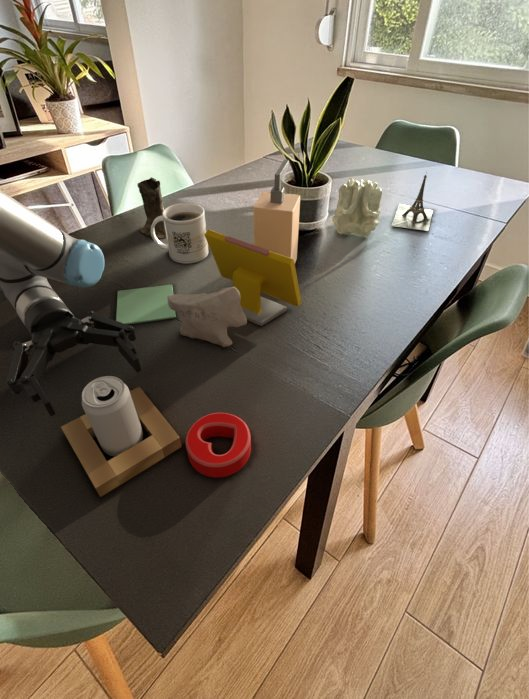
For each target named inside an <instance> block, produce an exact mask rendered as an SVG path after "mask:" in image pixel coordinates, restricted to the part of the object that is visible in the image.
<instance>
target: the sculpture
mask: <svg viewBox="0 0 529 699" xmlns="http://www.w3.org/2000/svg"><path fill="white" fill-rule="evenodd" d="M167 298H168V305H169V307H170V309H172V310H175V313H177V315H178V317H179V319H180V328H179V333H180V335H181V336H184V337H188V338H190V339H197V340H201V341H207V342H209V343H211V344H215V345H218V346H221V347H222V348H227V347H230V346H231V345H233V341H232V339H231V338H230V337H229V335H228V328H229V327H232V328H239V327H241V326H246V325H247V323H248V320H247V319H246V316H245V314H244V312H243V310H242V308H241V305H240V298H241V297H240V292H239V290H237V289H236V288H235V287H233V286H231V287H230V286H229V287H223V288H220V290H218V291H212V292H211V293H204V292H201V293H195V294H185V293H184V294H183V293H173V295H169V296H167Z"/></svg>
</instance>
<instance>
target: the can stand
mask: <svg viewBox="0 0 529 699" xmlns="http://www.w3.org/2000/svg"><path fill="white" fill-rule="evenodd" d="M129 392H130V395H131V398H132V401H133V404H134V407H135V410H136V413H137V416H138V419H139V422H140V425H141V428H142V429H143V430H144V431H145V432H146V434H147V435H148V437H146V438H145V439H143V440H142V441H141V442H140V443H138V444H136V445H135V446H133V447H131V448H129V449H128V450H126V451H124V452H122V453H121V454H119V455H117V456H116V457H115V456H113V457H112V458H110V459H108V460H107V458H106V457H105V456H104V454H103V452H102V451H101V449H100V447H99V446H98V444H97V442H96V441H95V439H94V438H97V437H96V435H95V433H94V430H93V428H92V426H91V424H90V422H89V420H88V417H87V415H86V413H85V414H83V415H81V416H79V417H77V418H75V419H73V420H72V421H69V422H68V423H66V424H64V425H62V426H60V429H61V430H62V432H63V434H64V436H65V437H66V439H67V441H68V443H69V444H70V446H71V448H72V450H73V452H74V453H75V455H76V457H77V459H78V461H79V462H80V464H81V466H82V468H83V470H84V471H85V473H86V475H87V477H88V478H89V480H90V482H91V483H92V486H93V488H94V489H95V491H96V492H97V494H98V496H99V497H100V498H102V497H103V496H105V495H107V494H108V493H110V492H111V491H113V490H114V489H116V488H118V487H120V486H121V485H122V484H125V483H126V482H127V481H129V480H131V479H132V478H134V477H136V476H137V475H139V474H141V473H142V472H144V471H146V470H147V469H149V468H150V467H152V466H153V465H155V464H157V463H158V462H160V461H162V460H164V459H165V458H167V457H168V456H170V455H171V454H172V453H174V452H176V451H177V450H179V449H181V448H182V447H183V445H182V442H181V441H182V440H181V437H180V436H179V434H178V433H177V432H176V430H175V429H174V428H173V427H172V426H171V424H170V423H169V422H168V421H167V419H166V418H165V417H164V415H163V414H162V413H161V412H160V410H158V408H157V406H155V404H154V403H153V402H152V401H151V399H150V398H149V397H148V396H147V394H146V393H145V392H144V391H143V389H142V388H141V387H140V386H137V387H135V388H134V389H132V390H129Z"/></svg>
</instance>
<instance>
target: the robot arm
mask: <svg viewBox="0 0 529 699" xmlns="http://www.w3.org/2000/svg"><path fill="white" fill-rule="evenodd" d="M105 266H106V264H105V256H104V253H103V251H102V249H101V248H100V247H99V246H98V245H97V244H95V243H93V242H91V241H87V240H86V239H82V238H81V239H78V238H75V237H73V236H71V235H70V234H68V233H66V232H65V231H64V230H62V229H60V228H59V227H57V226H55V225H54V224H53V223H51V222H49V221H48V220H46V218H43V217H42V216H40V215H39V214H37V213H36V212H34V211H32V210H31V209H29V207H27V206H25V205H24V204H23V203H21V202H20V201H18V200H16V199H15V198H13V197H12V196H10V195H9V194H7V193H5V192H4V191H3V190H2V189H0V288H1V291H2V293H3V294H4V295H3V296H4V297H5V298H6V300H7V301H8V302H9V303H10V305H11V306H12V307H13V309H14V310H15V312H16V314H17V316H18V317H19V319H20V320H21V322H22V323H23V325H24V326H25V328H26V330H27V332H28V334H29V335H30V337H31V340H29V341H26V342H22V341H21V340H15V341H14V342H13V343H12V346H13V349H14V352H13V355H12V359H11V361H10V364H9V369H8V372H7V375H6V378H5V384H6V386H7V388H8V389H9V391H10V392H11V394H12V395H14V396H16V395H19V394H20V393H21V392H26V393H27V395H28V398H29V399H30V401H31V403H34V404H35V403H37V402H39V401H41V402H42V404H43V406H44V408H45V409H46V411H47V413H48V414H49V416H50V417H53V416H55V415H57V413H56V411H55V409H54V407H53V406H52V403H51V402H50V400H49V398H48V397H47V395H46V393H45V392H44V390H43V388H42V387H41V385H40V383H39V381H40V379H41V377H42V375H43V373H45V372H44V371H45V370H46V368H47V366H48V364H49V362H51V361H53V359H54V357H55V355H56V353H58V354H60V353H62V352H65V351H66V350H68V349H71V348H74V347H77V346H78V345H85V346H87V345H89V344H94V345H101V346H108V347H115V348H117V349H118V352H119V353H120V354H121V355H122V356H123V358H124V359H125V360H126V361H127V363H128V364H129V365H130V366H131V368H132V369H133V370H134V371H135V372H136V373H137V374H138V373H140V372H142V368H141V364H140V360H139V358H138V356H136V355H137V350H136V346H135V344H134V343H133V342H135V340H136V339H137V336H136V333H135V329H134V326H133V325H131V324H128V325H127V324H124V323H121V322H118V321H116V319H115V320H114V319H112V318H109V317H105V316H102V315H99V314H98V313H97V312H96V311H95V310H89V311H88V312H87V316H86V317H84V318H81V319H80V318H77V317H75V315H74V314H73V312H72V311H71V310H70V309H69V308H68V306H67V305H66V304H65V302H64V301H63V300H62V299H61V297H59V295H58V294H57V292H56V291H55V290H54V289H53V287H52V286H51V284H50V283H49V281H48V279H49V280H51V281H52V280H53V281H54V282H55V281H56V282H58V283H63V284H66V285H68V286H71V287H77V288H84V289H87V288H91V287H94V286H95V285H96V284H97V283H98V282H99V281H100V280H101V278H102V275H103V272H104V270H105ZM33 349H35V351H34V354H33V355H32V354H31V353H32V350H33ZM31 356H32V357H31ZM29 357H31V358H30V359H29Z"/></svg>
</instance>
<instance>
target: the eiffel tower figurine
mask: <svg viewBox="0 0 529 699" xmlns="http://www.w3.org/2000/svg"><path fill="white" fill-rule="evenodd" d="M427 172H428V171H426V172H425V175H424V176H423V180H422V182H421V186H420V188H419V191H418V194H417V197H416V198H415V200H414V202H413V204H412V205H410V204H405V203H398V206H397V209H396V211H395V214H394V218H393V220H392V223H391V227H396V228H403V229H410V230H419V231H427V232H428V231H429V229H430V226H431V221H432V216H433V213H434V209H429V208H425V207H424V191H425V186H426V180H427V178H428V176H427Z"/></svg>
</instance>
